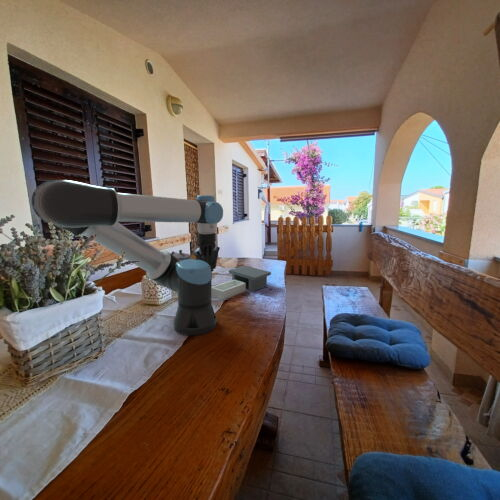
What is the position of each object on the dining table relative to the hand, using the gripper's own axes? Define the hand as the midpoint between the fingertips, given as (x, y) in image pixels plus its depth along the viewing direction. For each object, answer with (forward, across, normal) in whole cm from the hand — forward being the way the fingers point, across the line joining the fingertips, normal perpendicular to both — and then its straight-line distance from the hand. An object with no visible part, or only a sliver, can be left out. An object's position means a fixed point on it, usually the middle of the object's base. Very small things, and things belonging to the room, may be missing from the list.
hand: (207, 285), depth 112 cm
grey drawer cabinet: (+8, +29, 0) cm, 30 cm away
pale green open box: (+8, +13, 0) cm, 15 cm away
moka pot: (+8, +1, +23) cm, 24 cm away
